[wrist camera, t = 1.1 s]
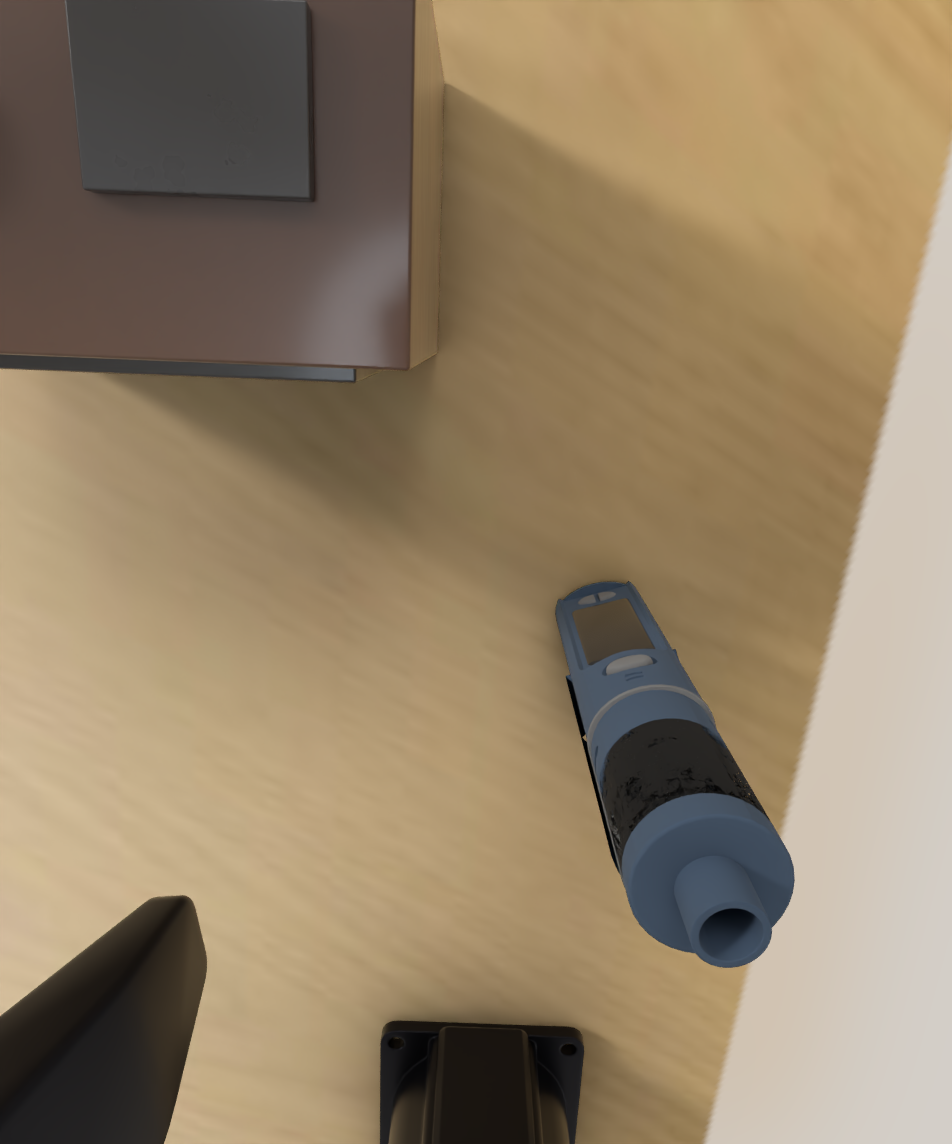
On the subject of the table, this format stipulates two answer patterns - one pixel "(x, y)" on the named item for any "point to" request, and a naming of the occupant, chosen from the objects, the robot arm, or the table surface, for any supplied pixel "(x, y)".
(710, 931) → the vaping device
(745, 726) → the table surface
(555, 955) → the table surface
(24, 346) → the radio
